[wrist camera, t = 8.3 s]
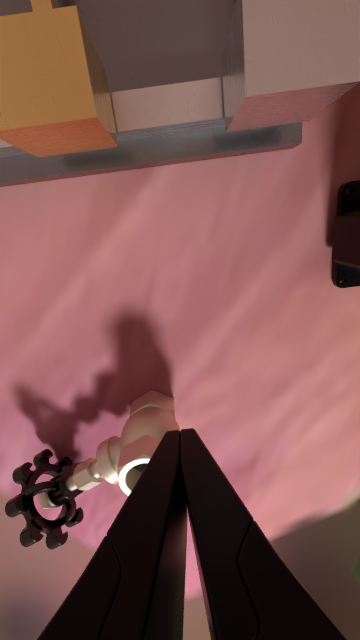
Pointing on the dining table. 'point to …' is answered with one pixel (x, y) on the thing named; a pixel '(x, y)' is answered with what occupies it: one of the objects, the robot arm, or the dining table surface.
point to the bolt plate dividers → (204, 79)
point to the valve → (90, 470)
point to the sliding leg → (52, 83)
